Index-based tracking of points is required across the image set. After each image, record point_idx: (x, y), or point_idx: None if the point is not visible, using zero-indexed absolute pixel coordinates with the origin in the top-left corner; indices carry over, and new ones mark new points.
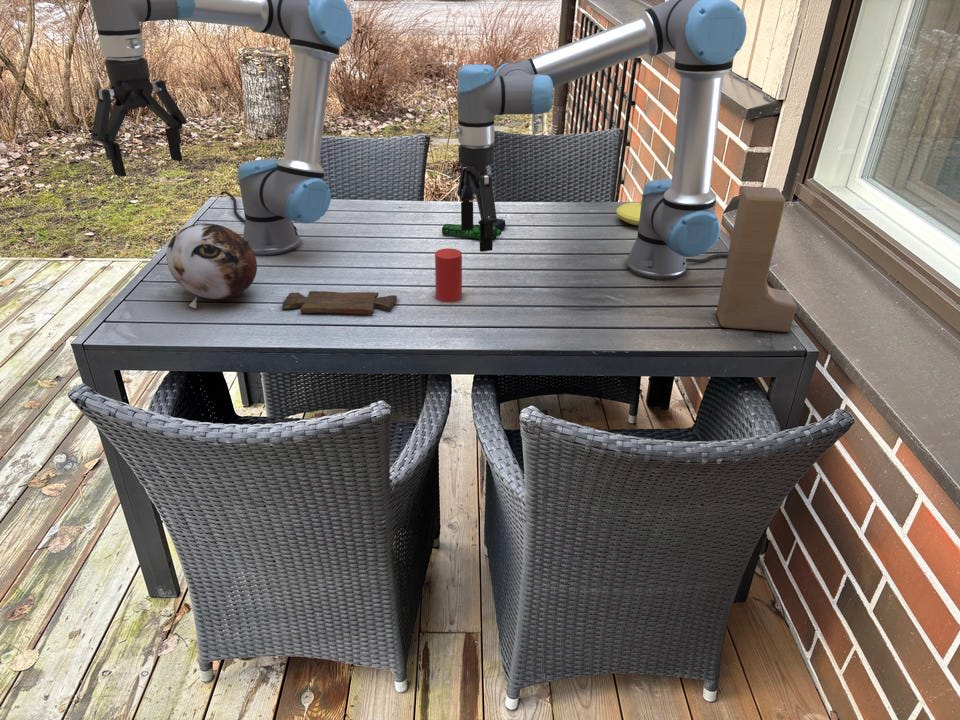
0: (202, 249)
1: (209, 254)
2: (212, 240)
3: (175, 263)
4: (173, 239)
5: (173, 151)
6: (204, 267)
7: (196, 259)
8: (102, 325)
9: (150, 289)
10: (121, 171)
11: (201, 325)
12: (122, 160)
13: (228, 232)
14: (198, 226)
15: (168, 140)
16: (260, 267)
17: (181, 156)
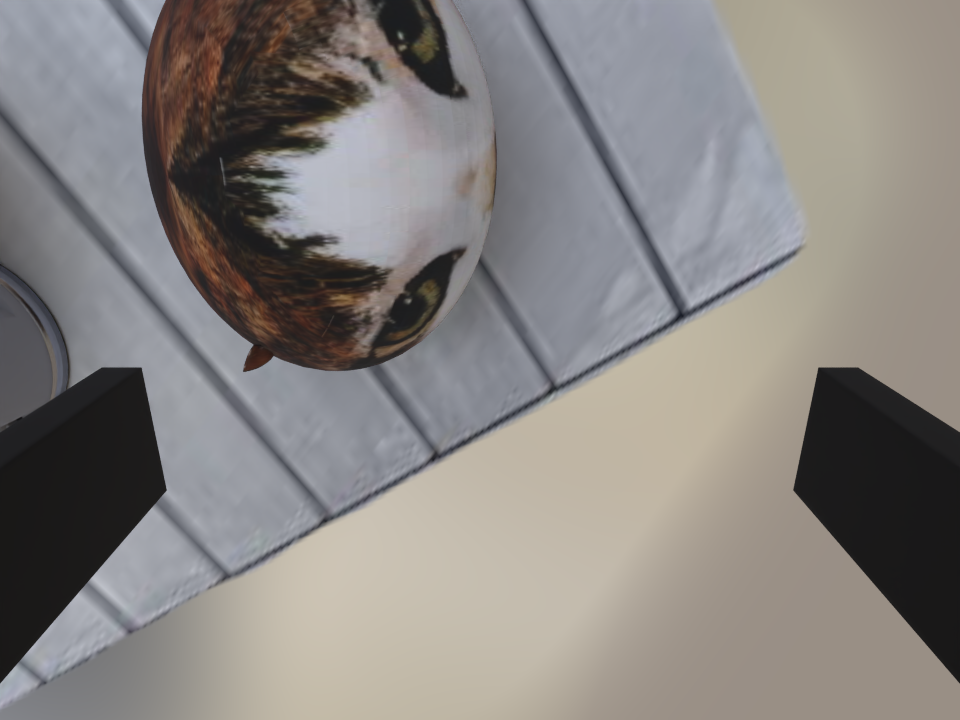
0: (421, 45)
1: (415, 2)
2: (348, 29)
3: (491, 194)
4: (420, 286)
5: (100, 487)
6: (458, 20)
7: (462, 63)
8: (703, 297)
9: (459, 388)
10: (891, 392)
11: (548, 11)
12: (927, 447)
13: (220, 41)
14: (309, 201)
15: (26, 627)
16: (108, 226)
17: (78, 383)
